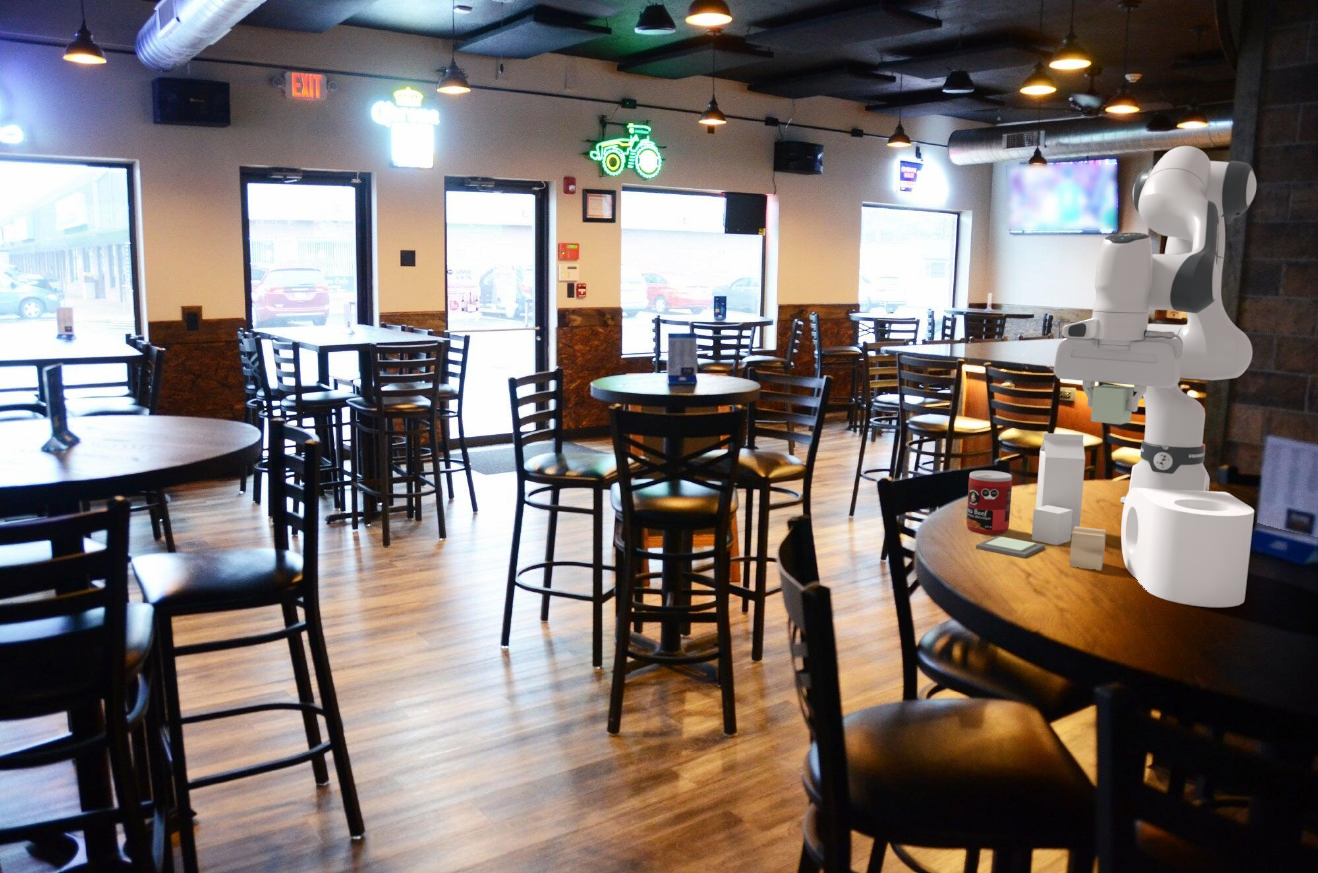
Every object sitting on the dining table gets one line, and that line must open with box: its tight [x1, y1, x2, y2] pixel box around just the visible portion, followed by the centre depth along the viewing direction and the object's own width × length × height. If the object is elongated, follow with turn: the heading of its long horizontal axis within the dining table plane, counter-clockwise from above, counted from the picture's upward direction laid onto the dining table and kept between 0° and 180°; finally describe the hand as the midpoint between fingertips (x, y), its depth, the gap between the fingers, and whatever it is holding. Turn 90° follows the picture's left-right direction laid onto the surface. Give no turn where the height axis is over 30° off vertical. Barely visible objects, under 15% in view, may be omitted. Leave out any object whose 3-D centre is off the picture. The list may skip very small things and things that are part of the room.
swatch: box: [975, 535, 1046, 559], centre depth 190 cm, size 9×9×1 cm
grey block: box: [1031, 505, 1073, 546], centre depth 195 cm, size 5×5×6 cm
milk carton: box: [1035, 432, 1086, 536], centre depth 202 cm, size 7×7×19 cm
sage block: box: [1090, 384, 1134, 425], centre depth 181 cm, size 5×5×6 cm
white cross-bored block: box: [1120, 488, 1255, 608], centre depth 169 cm, size 14×14×25 cm
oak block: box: [1069, 526, 1107, 571], centre depth 179 cm, size 5×5×6 cm
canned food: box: [965, 470, 1013, 535], centre depth 202 cm, size 8×8×11 cm
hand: (1112, 409), depth 181 cm, fingers closed on sage block, 5 cm apart
